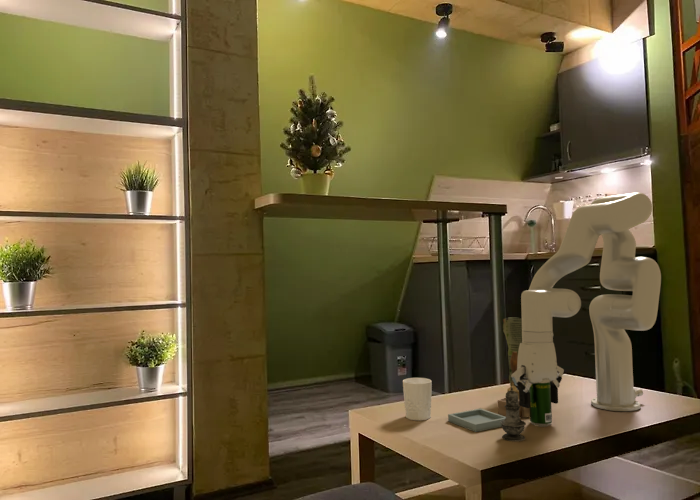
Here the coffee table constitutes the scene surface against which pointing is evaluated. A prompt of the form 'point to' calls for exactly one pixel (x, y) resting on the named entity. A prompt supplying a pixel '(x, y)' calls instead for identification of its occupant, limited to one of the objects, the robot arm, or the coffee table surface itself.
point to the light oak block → (525, 412)
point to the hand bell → (514, 367)
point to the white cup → (417, 398)
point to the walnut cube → (503, 410)
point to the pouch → (512, 338)
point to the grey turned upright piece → (512, 418)
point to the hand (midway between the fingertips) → (538, 404)
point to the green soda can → (540, 403)
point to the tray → (476, 419)
